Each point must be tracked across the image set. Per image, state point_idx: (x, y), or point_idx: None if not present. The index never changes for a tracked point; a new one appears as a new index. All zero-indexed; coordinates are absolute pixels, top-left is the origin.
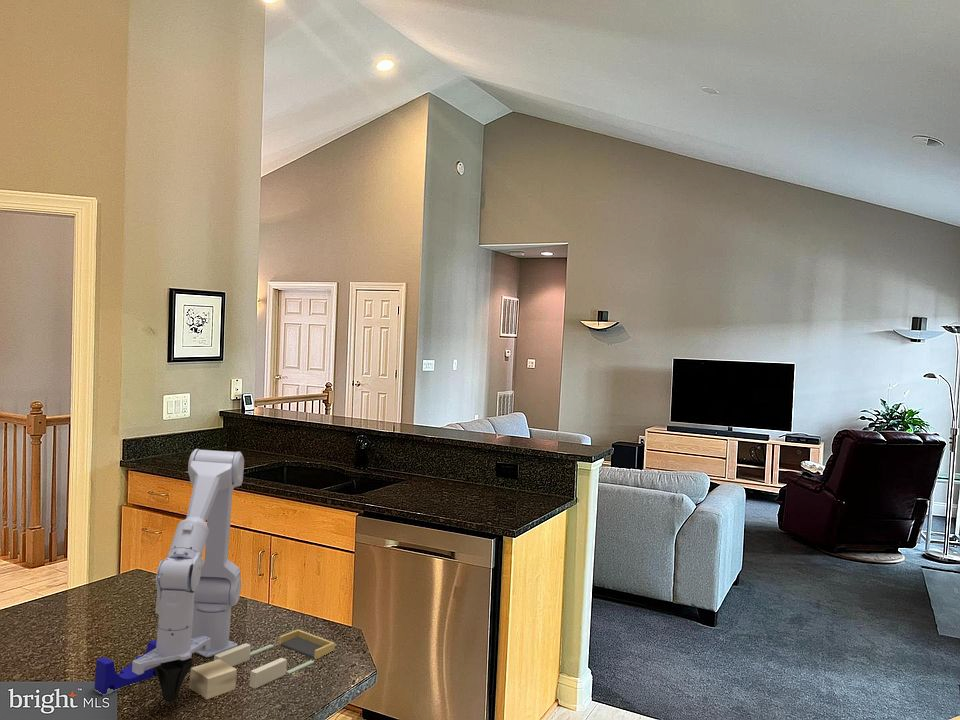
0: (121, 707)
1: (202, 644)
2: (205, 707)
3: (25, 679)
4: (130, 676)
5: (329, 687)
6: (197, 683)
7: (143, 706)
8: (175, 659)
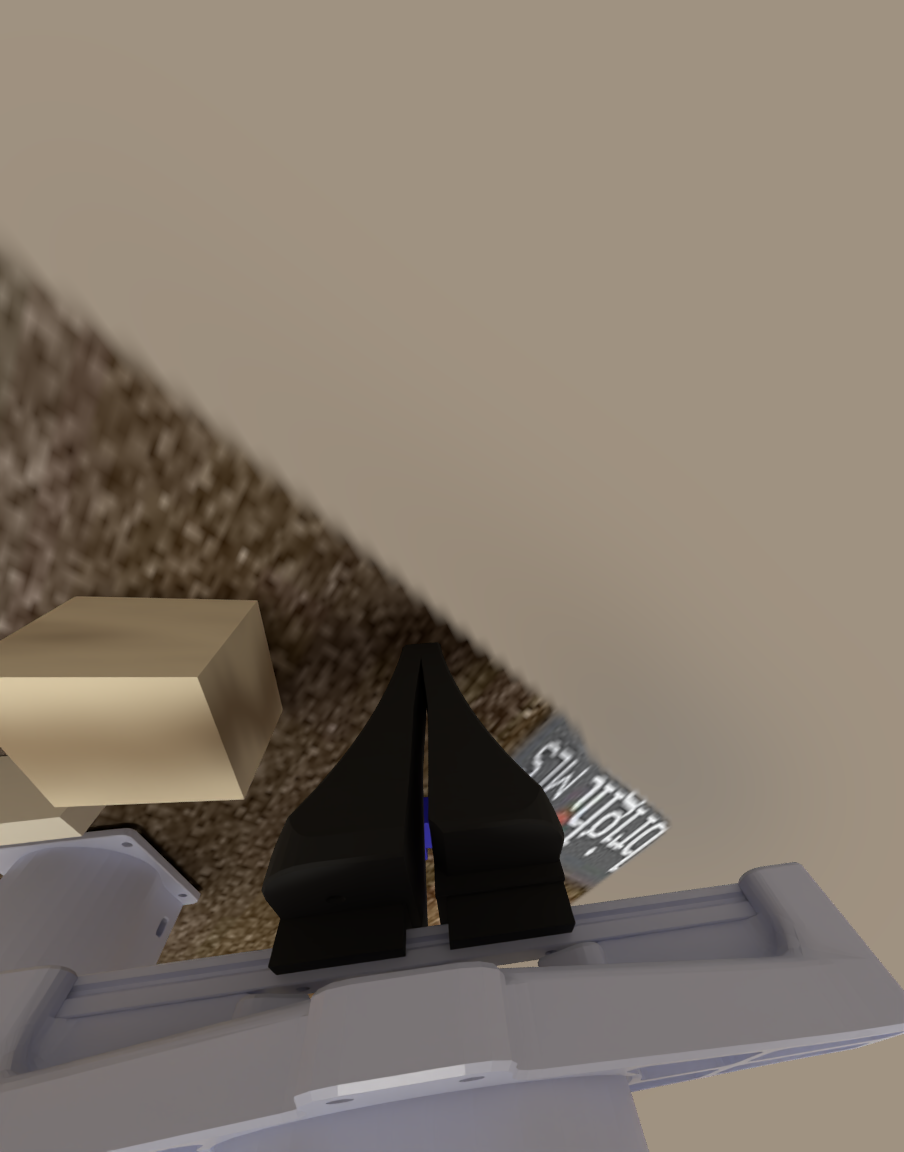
0: (532, 721)
1: (14, 1123)
2: (295, 542)
3: (569, 884)
4: (427, 830)
5: None
6: (254, 702)
7: (484, 693)
8: (534, 985)
